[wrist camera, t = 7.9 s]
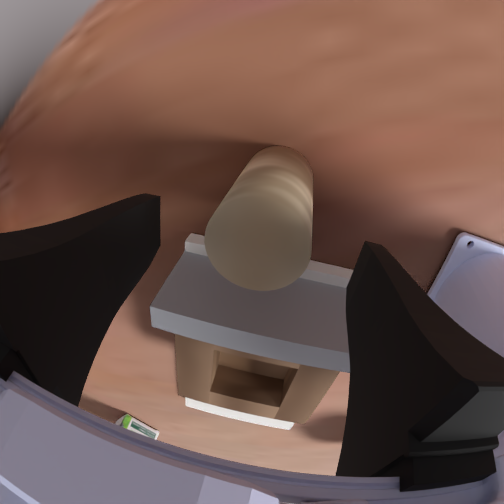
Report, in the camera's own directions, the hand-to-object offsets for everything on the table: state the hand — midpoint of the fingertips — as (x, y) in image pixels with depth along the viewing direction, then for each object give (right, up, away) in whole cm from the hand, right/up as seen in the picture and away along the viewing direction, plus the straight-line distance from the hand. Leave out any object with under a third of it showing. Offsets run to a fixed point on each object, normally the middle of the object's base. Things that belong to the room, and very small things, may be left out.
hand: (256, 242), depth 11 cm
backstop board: (0, -9, +14) cm, 16 cm away
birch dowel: (+1, +4, +6) cm, 7 cm away
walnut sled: (0, -7, +11) cm, 13 cm away
